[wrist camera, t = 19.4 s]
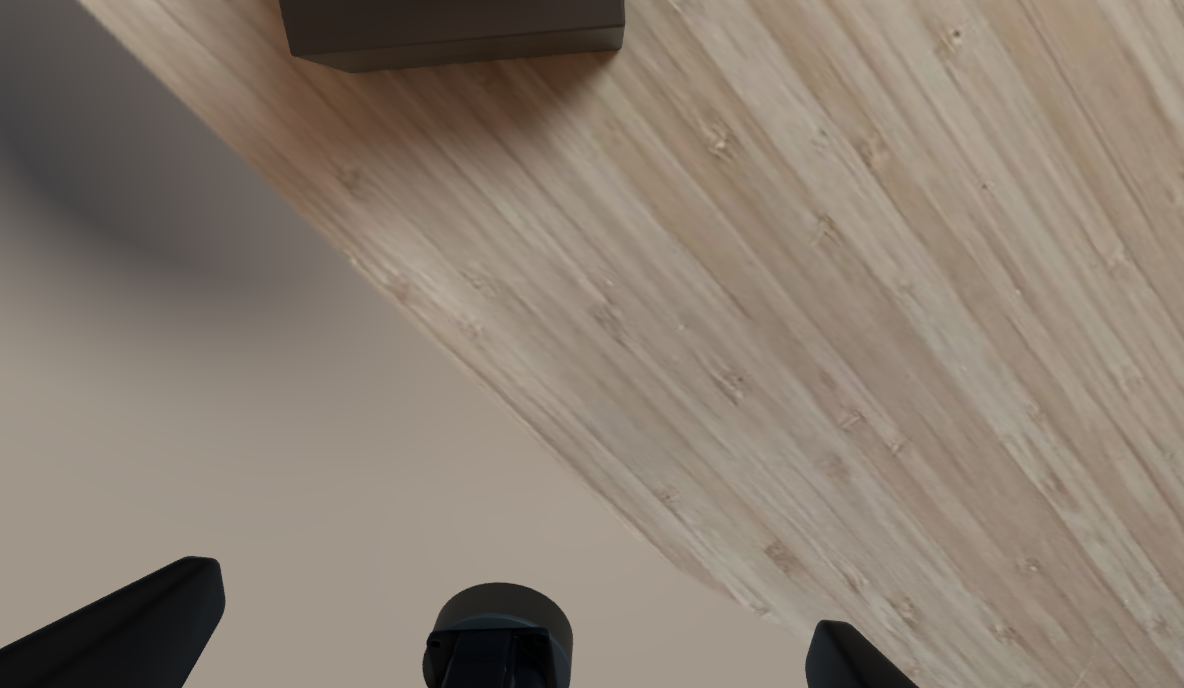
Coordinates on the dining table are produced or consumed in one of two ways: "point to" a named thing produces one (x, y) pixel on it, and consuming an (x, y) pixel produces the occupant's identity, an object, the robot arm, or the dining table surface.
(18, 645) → the robot arm
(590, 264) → the dining table surface
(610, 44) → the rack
